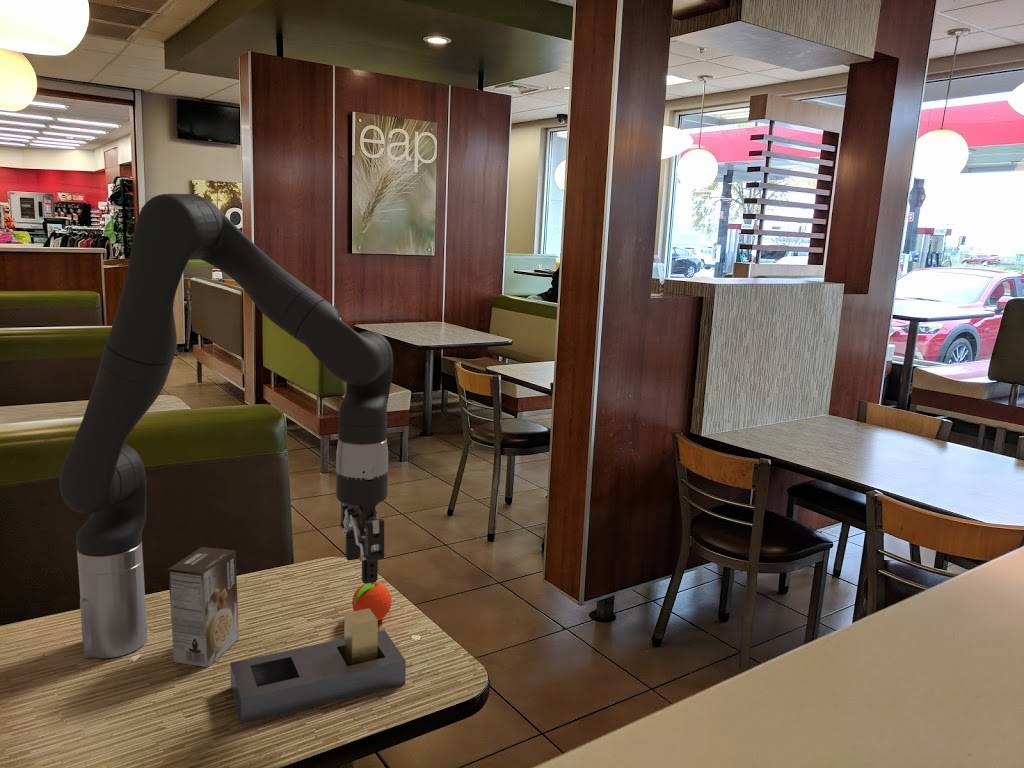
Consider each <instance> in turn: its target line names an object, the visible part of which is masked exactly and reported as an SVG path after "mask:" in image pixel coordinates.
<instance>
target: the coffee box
mask: <svg viewBox="0 0 1024 768" xmlns="http://www.w3.org/2000/svg"><path fill="white" fill-rule="evenodd" d="M236 552H237V551H236V550H231V549H224V548H215V547H214V548H213V547H206V546H201V547H199V548H198V549H196V550H195V551H193V552H191V553H190V554H188V555H187V556H186V557H184V558H183V559H181V560H180V561H178V562H177V563H175V564H174V565H172V566H171V567H169V568H168V569H167V572H168V586H169V587H168V590H169V602H170V605H169V606H170V620H171V621H170V622H171V637H172V652H173V653H172V654H173V657H172V658H173V662H174V663H177V664H183V665H190V666H191V665H192V666H197V667H203V668H209V667H210V666H212V664H214V663H215V662H216V661H217V660H218V659H219V658H220V657H221V656H222V655H223V654H225V652H227V651H228V650H229V649H231V647H232V646H233V645H234V644H235V643H236V642H237V641H239V640H240V629H239V605H238V584H237V583H238V579H237V578H238V577H237V562H236V561H237V558H236V557H237V556H236Z"/></svg>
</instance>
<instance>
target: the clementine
mask: <svg viewBox="0 0 1024 768" xmlns="http://www.w3.org/2000/svg"><path fill="white" fill-rule="evenodd" d="M392 601H393V600H392V595H391V593H390V590H389V589H388V588H387V586H386V585H384V584H382V583H380V582H378V581H376V582H373V583H368V584H364V583H363V584H360V586H358V588H357V589H356V590H355V592H354V593H353V595H352V600H351V606H352V610H353V612H354V611H358V610H363V609H368V608H370V610H371V611H372V613H373V614H374V615H375V617H376V618H377V619H378V622H379V621H380V620H382V619H384V618H385V617H387V615H388V614H389V612H390V610H391V607H392Z"/></svg>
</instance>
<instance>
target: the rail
mask: <svg viewBox="0 0 1024 768" xmlns="http://www.w3.org/2000/svg"><path fill="white" fill-rule="evenodd" d="M406 662H407V661H406V659H405V657H404V656H403V654H402V653H401V651H400V650H399V648H398V647H397V645H396V644H395V643H394V641H393V640H392V638H391V637H390V635H389V634H388V633H387V631H386V630H385V629H383V630H378V659H377V660H373V661H368V662H364V663H360V664H355V665H351V666H347V665H346V663H345V648H344V638H339V639H335V640H330V641H327V642H321V643H317V644H312V645H308V646H301V647H298V648H297V647H296V648H294V649H288V650H284V651H279V652H274V653H270V654H264V655H260V656H254V657H251V658H246V659H241V660H235V661H232V662H230V663H229V667H230V669H229V670H230V688H231V692H232V694H233V695H232V696H233V698H234V702H235V706H236V710H237V712H238V716H239V721H240V723H241V725H246V724H251V723H254V722H258V721H259V722H260V721H261V720H262V721H263V720H267V719H271V718H275V717H278V716H279V717H280V716H283V715H287V714H291V713H295V712H299V711H303V710H306V709H307V710H308V709H311V708H315V707H319V706H323V705H327V704H331V703H335V702H339V701H343V700H346V699H350V698H351V699H352V698H356V697H360V696H364V695H367V694H371V693H375V692H379V691H383V690H387V689H392V688H395V687H399V686H403V685H406Z"/></svg>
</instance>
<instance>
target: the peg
mask: <svg viewBox="0 0 1024 768" xmlns="http://www.w3.org/2000/svg"><path fill="white" fill-rule="evenodd" d="M343 618H344V623H343V624H344V626H343V628H344V630H343V631H344V632H343V633H344V636H343V637H344V638H343V639H344V648H345V663H346V665H347V666H351V665H355V664H360V663H364V662H368V661H373V660H377V659H378V631H379V630H378V629H379V625H378V624H379V621H378V619H377V618H376V617H375V615H374V614H373V613H372V611H371V610H370V608H368V609H363V610H358V611H354V610H353V611H350V612H345V613H344V617H343Z"/></svg>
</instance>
